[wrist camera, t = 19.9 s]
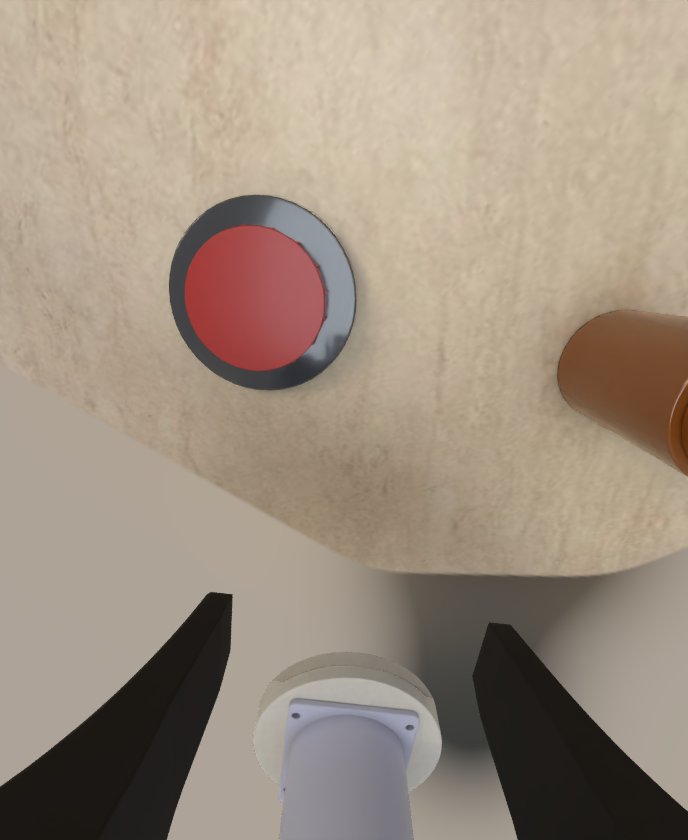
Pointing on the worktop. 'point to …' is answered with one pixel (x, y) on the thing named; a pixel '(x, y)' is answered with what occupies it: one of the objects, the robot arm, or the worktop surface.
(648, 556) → the worktop surface
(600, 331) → the jar
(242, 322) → the lid
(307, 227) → the coaster
